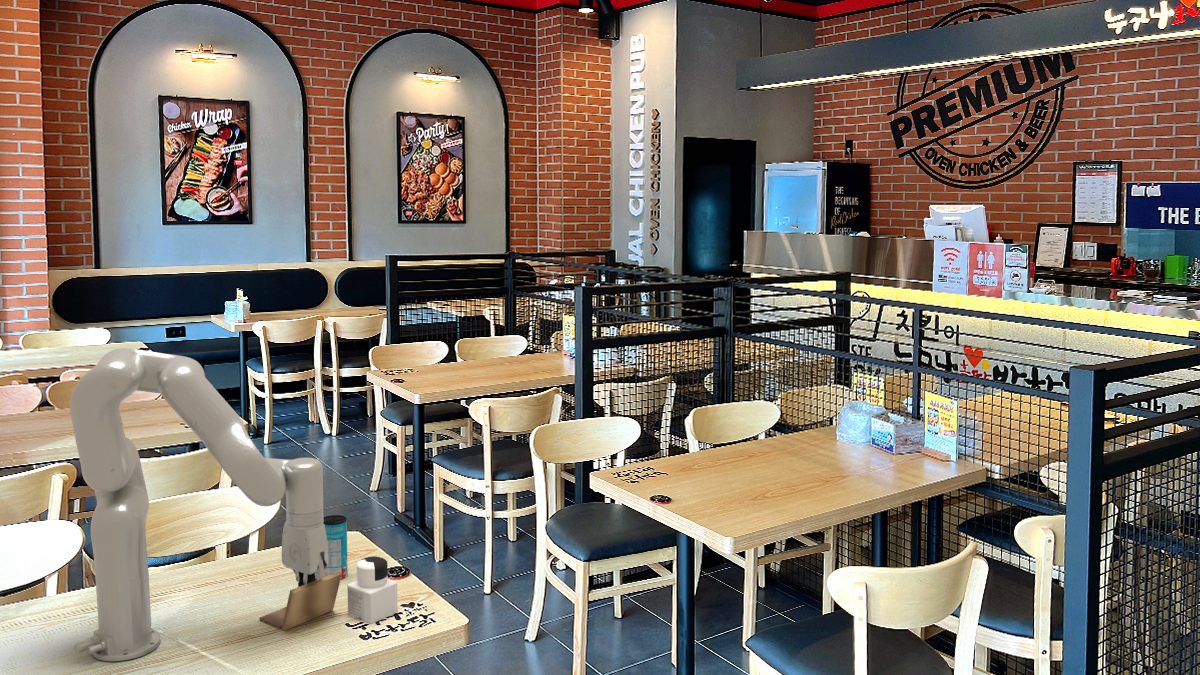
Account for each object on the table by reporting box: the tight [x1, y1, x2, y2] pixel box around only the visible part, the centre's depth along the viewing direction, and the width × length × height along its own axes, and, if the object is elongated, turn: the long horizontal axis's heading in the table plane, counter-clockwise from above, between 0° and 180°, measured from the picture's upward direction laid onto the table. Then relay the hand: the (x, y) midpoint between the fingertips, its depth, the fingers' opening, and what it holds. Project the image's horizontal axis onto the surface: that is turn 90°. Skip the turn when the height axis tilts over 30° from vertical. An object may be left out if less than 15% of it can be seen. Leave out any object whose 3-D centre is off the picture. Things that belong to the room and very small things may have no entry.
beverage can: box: [323, 514, 349, 581], centre depth 229 cm, size 6×6×15 cm
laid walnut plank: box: [258, 606, 287, 630], centre depth 206 cm, size 13×18×1 cm
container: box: [347, 556, 398, 625], centre depth 210 cm, size 8×8×13 cm
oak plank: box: [282, 571, 342, 631], centre depth 205 cm, size 13×10×1 cm
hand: (306, 598), depth 207 cm, fingers closed
